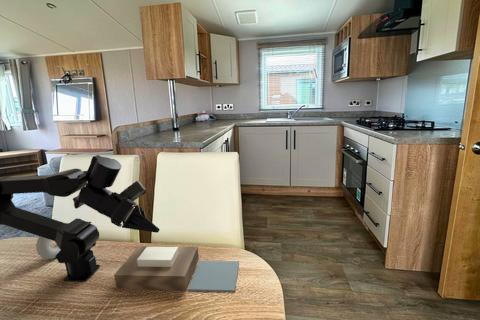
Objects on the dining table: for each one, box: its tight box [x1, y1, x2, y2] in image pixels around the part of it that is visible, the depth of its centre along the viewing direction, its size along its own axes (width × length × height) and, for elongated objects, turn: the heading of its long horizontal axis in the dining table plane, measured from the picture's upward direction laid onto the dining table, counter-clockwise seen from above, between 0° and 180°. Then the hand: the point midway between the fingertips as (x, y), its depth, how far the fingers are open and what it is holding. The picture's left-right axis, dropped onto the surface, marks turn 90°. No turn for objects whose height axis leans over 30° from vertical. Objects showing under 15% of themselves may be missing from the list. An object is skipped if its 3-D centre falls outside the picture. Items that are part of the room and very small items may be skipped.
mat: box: [187, 260, 240, 293], centre depth 68 cm, size 12×12×1 cm
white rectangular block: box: [137, 247, 179, 267], centre depth 69 cm, size 9×6×2 cm, turn 85°
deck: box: [113, 245, 200, 291], centre depth 70 cm, size 18×13×4 cm
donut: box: [35, 236, 61, 260], centre depth 79 cm, size 10×4×10 cm, turn 162°
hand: (157, 230), depth 67 cm, fingers open, 9 cm apart
